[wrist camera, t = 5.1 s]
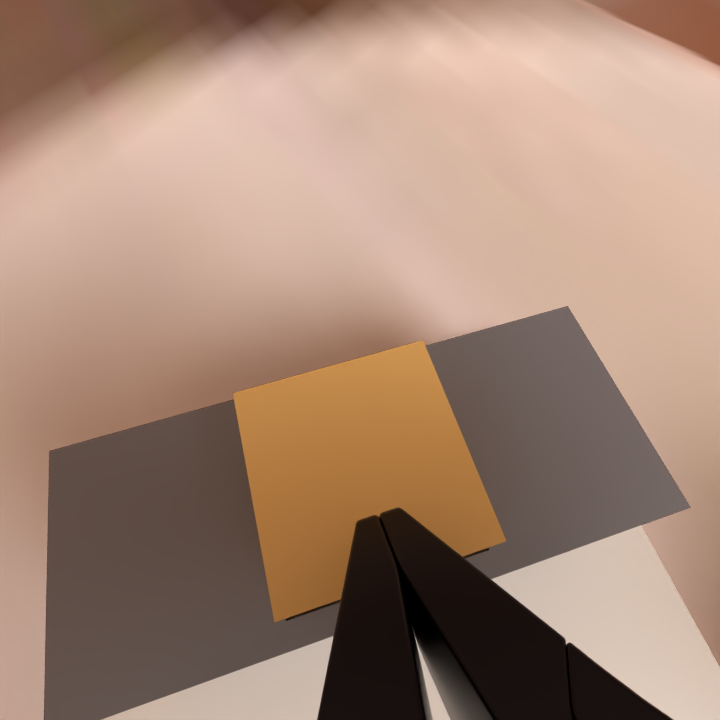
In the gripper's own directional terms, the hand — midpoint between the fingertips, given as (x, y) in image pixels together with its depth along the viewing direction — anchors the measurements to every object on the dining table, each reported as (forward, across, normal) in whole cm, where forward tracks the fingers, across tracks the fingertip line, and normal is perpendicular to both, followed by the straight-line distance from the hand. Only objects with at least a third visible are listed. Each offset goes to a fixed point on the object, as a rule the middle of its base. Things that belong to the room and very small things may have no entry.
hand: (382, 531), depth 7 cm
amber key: (+4, 0, +1) cm, 4 cm away
